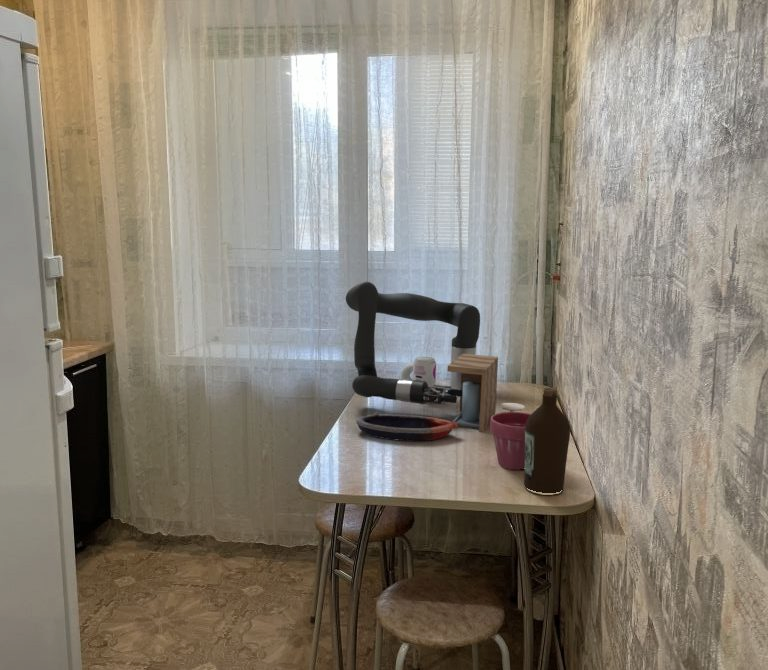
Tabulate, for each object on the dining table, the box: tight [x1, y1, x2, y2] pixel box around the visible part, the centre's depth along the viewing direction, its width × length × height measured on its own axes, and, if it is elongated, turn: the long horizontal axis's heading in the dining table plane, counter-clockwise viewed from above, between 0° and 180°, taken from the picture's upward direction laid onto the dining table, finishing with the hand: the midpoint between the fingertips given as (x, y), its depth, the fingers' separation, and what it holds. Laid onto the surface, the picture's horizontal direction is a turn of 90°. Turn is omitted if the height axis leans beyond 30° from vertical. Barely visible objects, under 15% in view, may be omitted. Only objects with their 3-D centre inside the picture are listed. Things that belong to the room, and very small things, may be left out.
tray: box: [451, 411, 480, 430], centre depth 222 cm, size 14×9×1 cm, turn 161°
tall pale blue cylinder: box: [462, 382, 481, 422], centre depth 221 cm, size 6×6×12 cm
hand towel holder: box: [499, 402, 525, 412], centre depth 221 cm, size 17×4×21 cm
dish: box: [355, 412, 458, 442], centre depth 207 cm, size 16×31×5 cm, turn 81°
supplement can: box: [412, 356, 437, 388], centre depth 246 cm, size 8×8×15 cm
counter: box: [446, 354, 499, 433], centre depth 221 cm, size 21×12×20 cm, turn 161°
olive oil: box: [523, 387, 571, 493], centre depth 166 cm, size 11×11×25 cm
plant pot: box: [489, 411, 532, 470], centre depth 183 cm, size 14×14×13 cm
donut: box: [400, 362, 413, 380], centre depth 262 cm, size 10×4×10 cm, turn 77°
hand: (459, 396), depth 222 cm, fingers open, 8 cm apart
